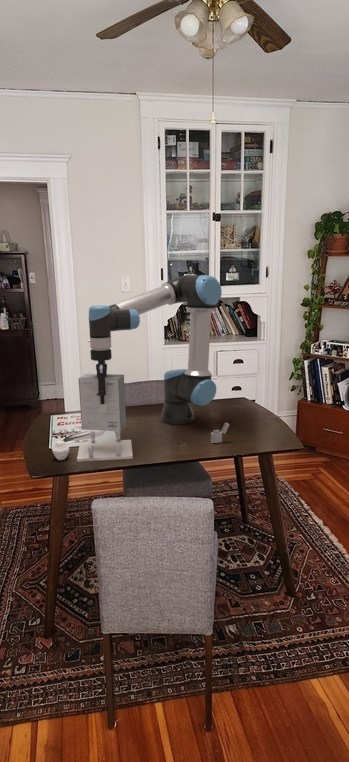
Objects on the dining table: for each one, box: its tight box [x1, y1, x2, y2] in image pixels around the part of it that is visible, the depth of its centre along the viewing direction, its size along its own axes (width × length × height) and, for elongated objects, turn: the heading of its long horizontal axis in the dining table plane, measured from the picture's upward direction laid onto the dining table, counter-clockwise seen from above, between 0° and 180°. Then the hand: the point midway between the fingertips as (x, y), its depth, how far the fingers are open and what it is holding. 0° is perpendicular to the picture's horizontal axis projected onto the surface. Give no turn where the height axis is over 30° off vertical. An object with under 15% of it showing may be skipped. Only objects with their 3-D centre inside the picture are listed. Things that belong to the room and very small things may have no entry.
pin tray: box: [76, 431, 134, 463], centre depth 185 cm, size 20×18×5 cm
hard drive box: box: [78, 373, 127, 432], centre depth 181 cm, size 16×8×20 cm, turn 79°
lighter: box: [210, 422, 230, 444], centre depth 193 cm, size 7×2×8 cm, turn 103°
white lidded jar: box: [52, 440, 70, 461], centre depth 179 cm, size 6×6×7 cm
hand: (103, 408), depth 182 cm, fingers closed on hard drive box, 9 cm apart
